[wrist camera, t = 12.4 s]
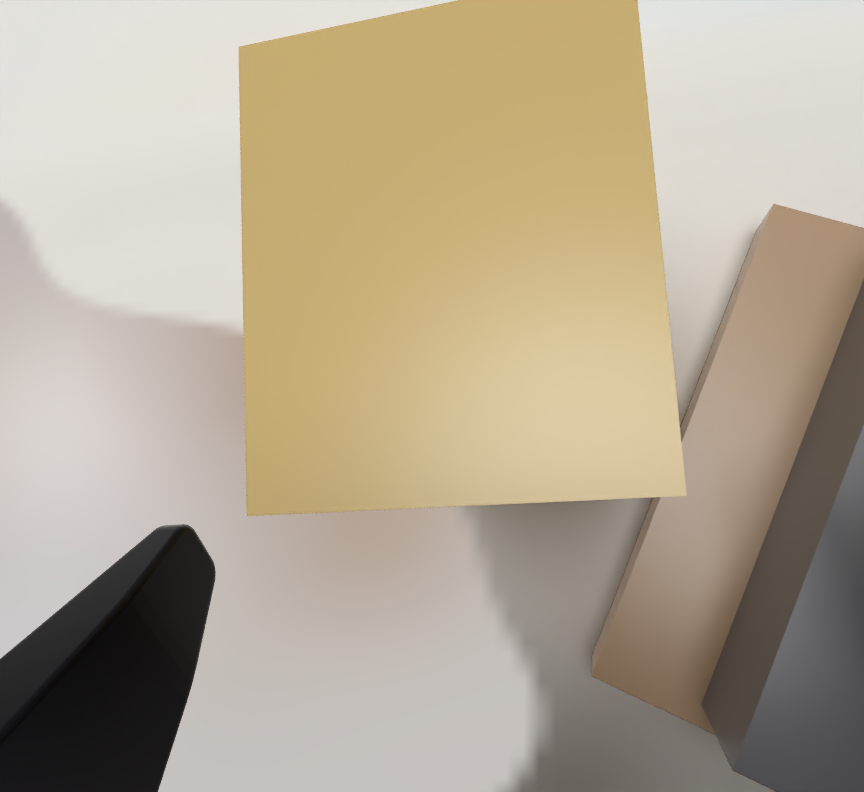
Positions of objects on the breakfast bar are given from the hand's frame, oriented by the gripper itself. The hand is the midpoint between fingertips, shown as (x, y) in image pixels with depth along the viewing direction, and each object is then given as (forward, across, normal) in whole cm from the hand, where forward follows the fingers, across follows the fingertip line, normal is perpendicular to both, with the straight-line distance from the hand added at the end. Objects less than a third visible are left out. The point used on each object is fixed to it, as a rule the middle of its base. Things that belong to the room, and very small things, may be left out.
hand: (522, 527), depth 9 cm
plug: (+7, 0, +3) cm, 8 cm away
